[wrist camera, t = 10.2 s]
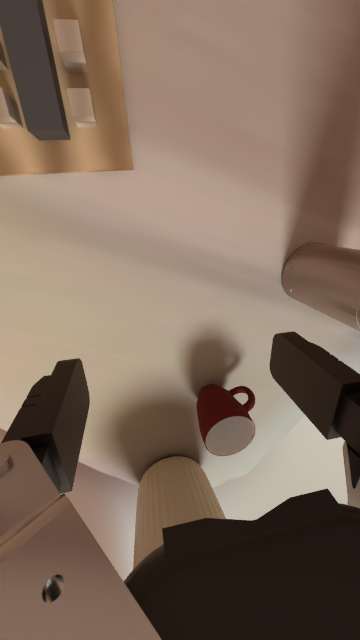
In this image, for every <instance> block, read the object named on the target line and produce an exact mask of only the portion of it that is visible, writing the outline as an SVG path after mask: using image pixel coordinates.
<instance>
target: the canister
mask: <svg viewBox="0 0 360 640" xmlns="http://www.w3.org/2000/svg"><path fill="white" fill-rule="evenodd" d="M204 518H216V519H226V518H225V516H224V514H223V511H222V509H221V507H220V504H219V502H218V500H217V498H216V496H215V493H214V491H213V489H212V487H211V485H210V483H209V481H208V478H207V476H206V474H205V472H204V471H203V469H202V468H201V466H200V465H199V464H198V463H197V462H196V461H194V460H192V459H189V458H188V457H184V456H182V457H181V456H174V457H169V458H165V459H161V460H160V461H157V462H156V463H155V464H153V465H152V466H151V467H149V469H148V470H147V471H146V472H145V474H144V475H143V477H142V479H141V481H140V485H139V489H138V498H137V512H136V527H135V529H136V530H135V546H134V565H133V569H134V568H135V567H136V566H137V565H138V564H139V563H140V562H141V561H142V560H143V559H144V558H145V557H146V556H147V555H149V554H150V553H151V552H152V551H154V550H155V549H157V548H158V547H160V546H161V545H163V544H164V543H163V534H162V528H166V527H170V526H174V525H179V524H183V523H187V522H191V521H195V520H199V519H204Z"/></svg>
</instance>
